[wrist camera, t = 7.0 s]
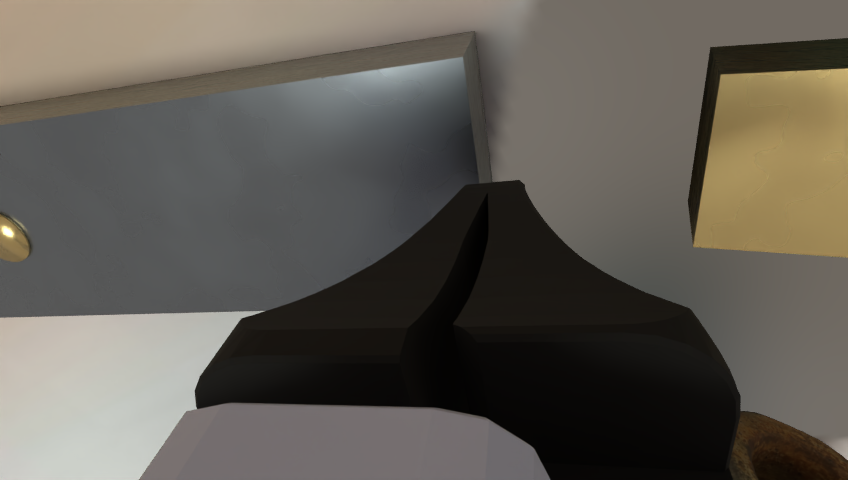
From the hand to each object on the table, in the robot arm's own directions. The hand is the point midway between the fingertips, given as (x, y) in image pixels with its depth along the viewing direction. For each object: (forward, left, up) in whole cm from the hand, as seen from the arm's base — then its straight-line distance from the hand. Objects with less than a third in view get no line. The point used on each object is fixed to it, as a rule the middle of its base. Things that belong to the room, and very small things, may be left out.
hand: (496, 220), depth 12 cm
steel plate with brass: (0, +11, -4) cm, 11 cm away
